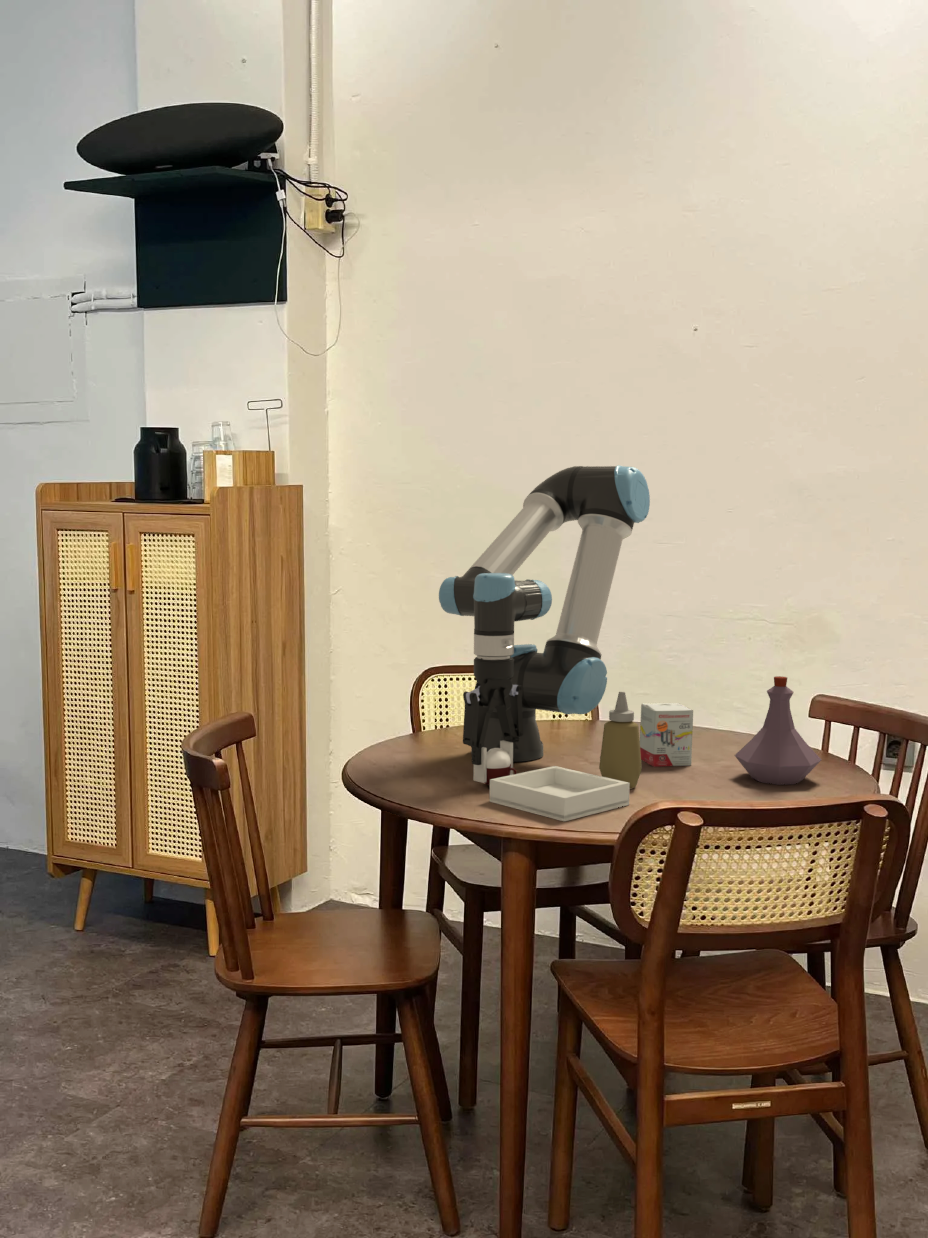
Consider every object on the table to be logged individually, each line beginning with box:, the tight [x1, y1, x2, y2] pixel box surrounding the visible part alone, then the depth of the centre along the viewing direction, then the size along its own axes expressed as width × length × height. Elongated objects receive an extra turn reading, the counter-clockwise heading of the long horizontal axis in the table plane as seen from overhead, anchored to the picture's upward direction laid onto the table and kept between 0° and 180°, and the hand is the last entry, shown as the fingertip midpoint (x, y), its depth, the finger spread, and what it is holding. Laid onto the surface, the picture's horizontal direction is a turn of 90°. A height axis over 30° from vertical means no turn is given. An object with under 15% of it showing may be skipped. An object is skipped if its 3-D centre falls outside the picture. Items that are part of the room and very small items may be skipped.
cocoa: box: [477, 739, 518, 786], centre depth 234 cm, size 10×6×12 cm, turn 38°
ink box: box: [639, 702, 694, 768], centre depth 257 cm, size 9×9×12 cm
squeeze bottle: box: [598, 691, 643, 790], centre depth 234 cm, size 8×8×18 cm
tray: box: [489, 765, 630, 822], centre depth 222 cm, size 17×18×4 cm
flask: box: [734, 675, 822, 786], centre depth 241 cm, size 16×16×20 cm
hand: (493, 778), depth 235 cm, fingers closed on cocoa, 6 cm apart
